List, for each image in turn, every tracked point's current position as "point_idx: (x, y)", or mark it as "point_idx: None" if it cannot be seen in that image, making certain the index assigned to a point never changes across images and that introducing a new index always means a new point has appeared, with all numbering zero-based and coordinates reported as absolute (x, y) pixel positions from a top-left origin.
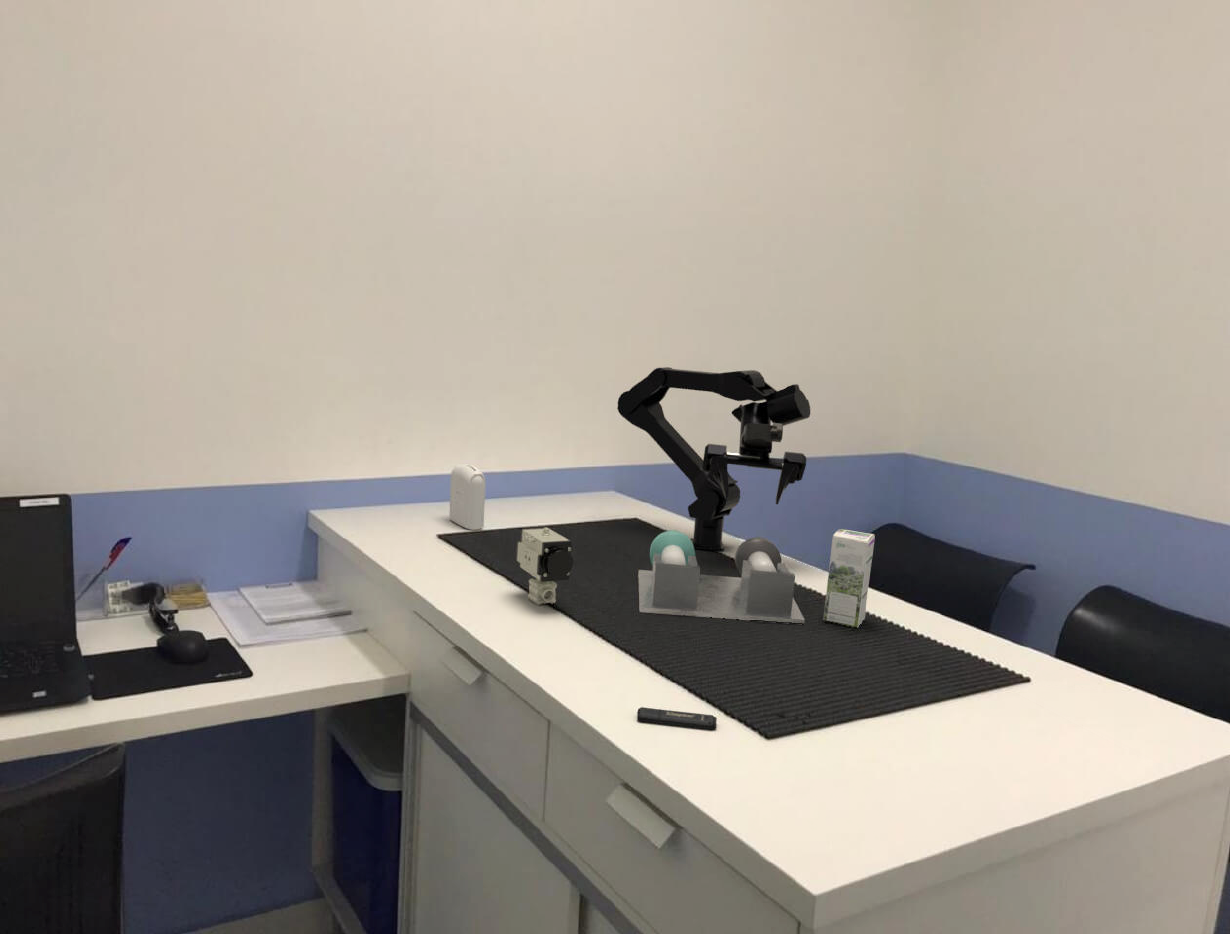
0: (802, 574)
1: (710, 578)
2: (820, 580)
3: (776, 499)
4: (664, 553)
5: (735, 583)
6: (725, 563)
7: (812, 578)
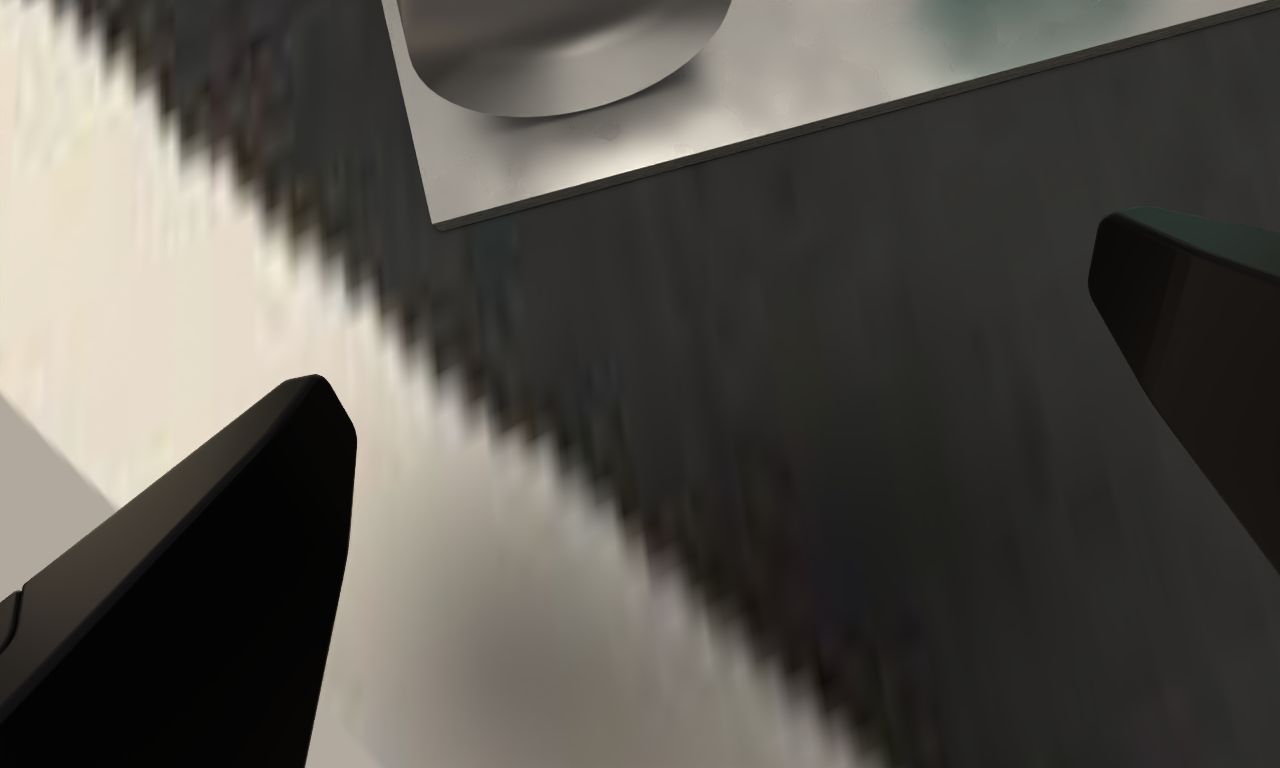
0: (351, 538)
1: (858, 37)
2: None
3: (315, 404)
4: None
5: None
6: (847, 548)
7: None
